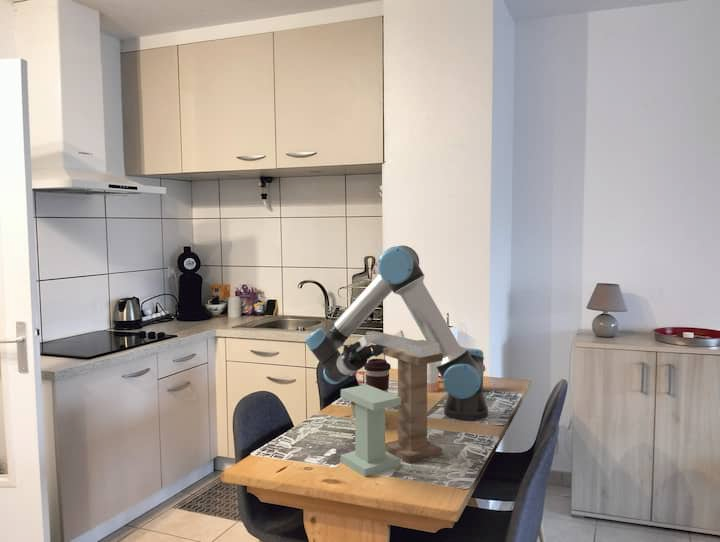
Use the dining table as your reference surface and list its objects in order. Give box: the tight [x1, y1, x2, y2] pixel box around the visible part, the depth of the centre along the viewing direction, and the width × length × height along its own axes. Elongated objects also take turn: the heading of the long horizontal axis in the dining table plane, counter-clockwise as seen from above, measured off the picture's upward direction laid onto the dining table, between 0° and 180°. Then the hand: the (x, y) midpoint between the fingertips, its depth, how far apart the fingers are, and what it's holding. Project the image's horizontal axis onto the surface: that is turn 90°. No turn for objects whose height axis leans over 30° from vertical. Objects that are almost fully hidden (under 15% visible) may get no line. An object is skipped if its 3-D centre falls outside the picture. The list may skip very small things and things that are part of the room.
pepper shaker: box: [427, 362, 440, 393], centre depth 242 cm, size 7×7×19 cm
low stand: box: [340, 384, 402, 477], centre depth 168 cm, size 16×12×20 cm
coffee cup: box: [363, 358, 391, 393], centre depth 229 cm, size 10×10×15 cm
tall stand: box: [382, 347, 443, 465], centre depth 176 cm, size 16×12×30 cm
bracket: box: [365, 330, 439, 357], centre depth 178 cm, size 27×7×3 cm, turn 37°
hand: (384, 337), depth 184 cm, fingers open, 13 cm apart
